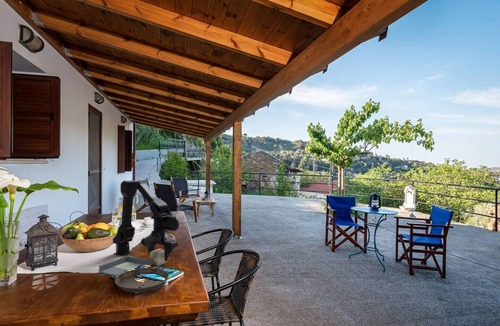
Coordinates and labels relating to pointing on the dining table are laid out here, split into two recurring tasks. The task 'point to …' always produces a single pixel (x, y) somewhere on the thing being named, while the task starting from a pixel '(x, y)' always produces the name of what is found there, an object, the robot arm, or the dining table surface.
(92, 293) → the dining table surface
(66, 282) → the dining table surface
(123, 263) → the corner arena
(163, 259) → the birch block
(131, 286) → the plant saucer
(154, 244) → the robot arm
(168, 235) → the decorative fruit
